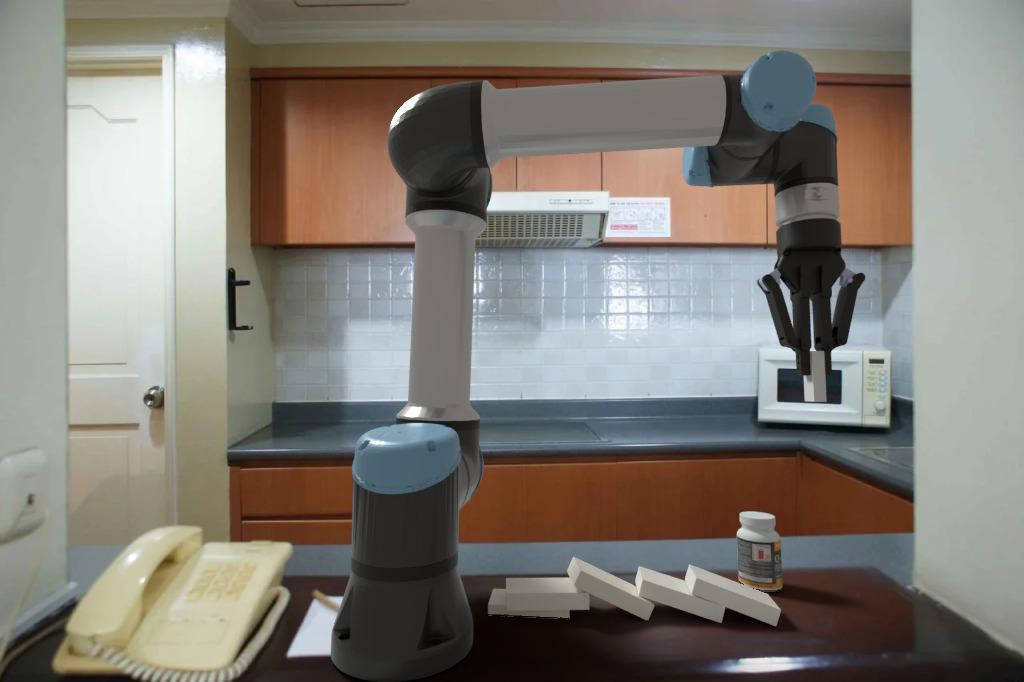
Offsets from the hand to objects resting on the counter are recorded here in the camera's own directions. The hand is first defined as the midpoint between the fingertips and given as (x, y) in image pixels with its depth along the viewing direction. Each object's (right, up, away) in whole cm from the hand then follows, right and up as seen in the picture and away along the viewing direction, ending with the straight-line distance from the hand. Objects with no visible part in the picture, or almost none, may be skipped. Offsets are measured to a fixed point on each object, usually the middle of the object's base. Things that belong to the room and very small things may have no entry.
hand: (815, 401), depth 67 cm
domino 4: (-14, -25, -3) cm, 29 cm away
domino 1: (-32, -26, -2) cm, 41 cm away
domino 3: (-23, -25, -2) cm, 34 cm away
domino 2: (-30, -24, -2) cm, 39 cm away
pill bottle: (-4, -27, +6) cm, 28 cm away
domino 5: (-8, -25, -4) cm, 27 cm away
